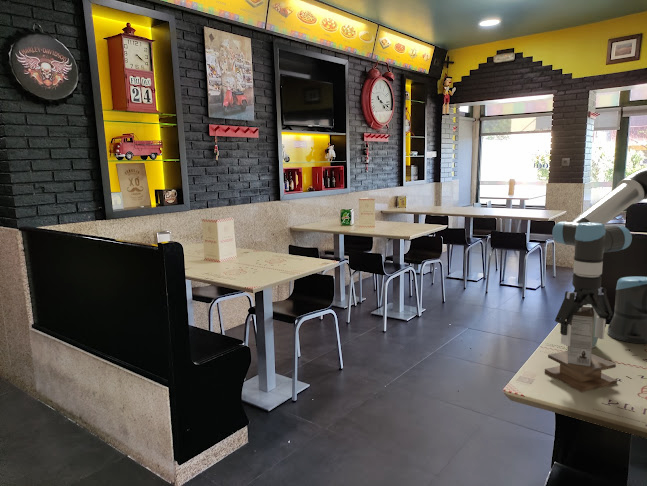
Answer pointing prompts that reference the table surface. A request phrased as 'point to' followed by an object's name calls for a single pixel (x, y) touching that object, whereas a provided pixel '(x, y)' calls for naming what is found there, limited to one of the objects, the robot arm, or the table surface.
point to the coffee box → (581, 337)
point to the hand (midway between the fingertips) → (582, 341)
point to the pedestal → (581, 372)
